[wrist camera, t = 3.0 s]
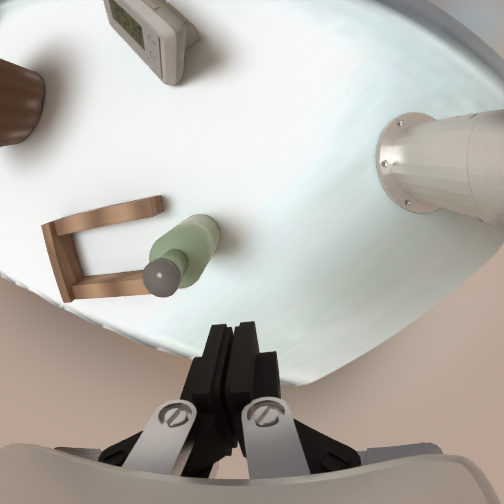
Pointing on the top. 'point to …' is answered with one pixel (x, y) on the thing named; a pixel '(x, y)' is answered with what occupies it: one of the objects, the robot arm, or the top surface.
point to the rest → (67, 260)
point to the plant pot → (18, 102)
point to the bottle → (181, 255)
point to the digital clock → (154, 34)
